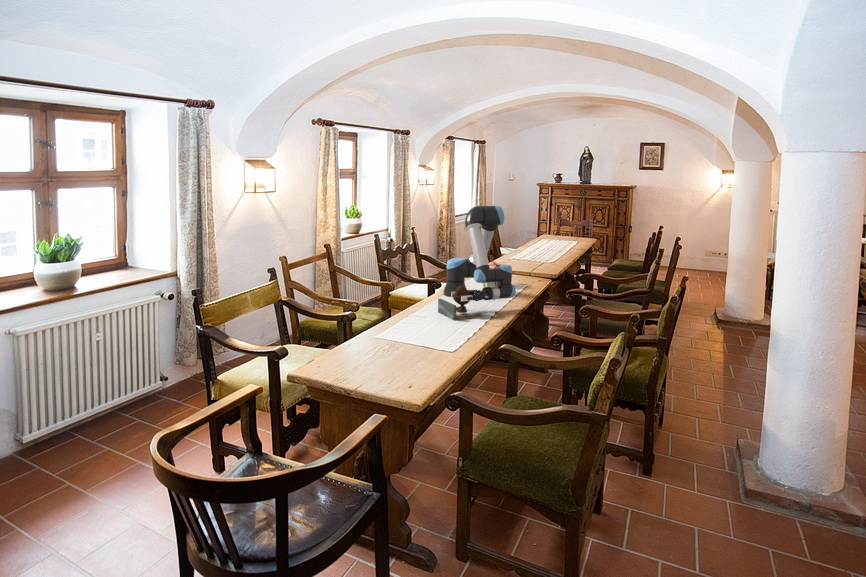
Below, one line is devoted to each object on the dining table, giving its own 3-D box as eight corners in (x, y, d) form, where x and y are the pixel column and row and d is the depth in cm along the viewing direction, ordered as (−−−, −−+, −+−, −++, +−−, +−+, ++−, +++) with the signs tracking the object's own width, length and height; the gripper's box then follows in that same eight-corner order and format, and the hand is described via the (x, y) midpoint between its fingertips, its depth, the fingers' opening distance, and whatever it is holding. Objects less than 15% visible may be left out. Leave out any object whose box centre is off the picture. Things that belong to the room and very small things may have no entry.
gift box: (476, 285, 415) (476, 260, 411) (501, 284, 419) (502, 259, 416) (484, 290, 399) (484, 264, 395) (510, 289, 403) (510, 263, 399)
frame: (464, 309, 346) (465, 295, 345) (481, 317, 329) (482, 302, 328) (438, 312, 339) (438, 298, 337) (453, 320, 322) (454, 305, 320)
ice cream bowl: (473, 314, 330) (474, 287, 327) (453, 314, 329) (453, 287, 326) (470, 309, 340) (471, 283, 337) (451, 309, 339) (451, 283, 336)
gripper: (501, 304, 331) (466, 307, 321) (479, 295, 351) (446, 298, 342) (501, 290, 329) (466, 294, 320) (480, 283, 350) (446, 286, 340)
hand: (456, 296), depth 331 cm, fingers closed on ice cream bowl, 11 cm apart
